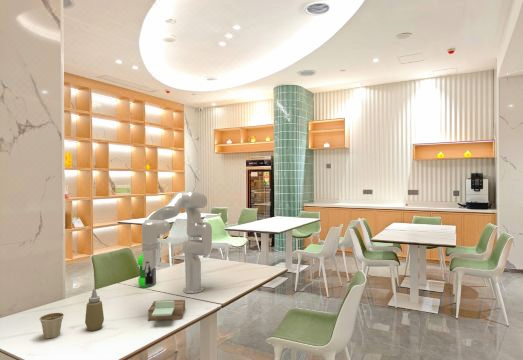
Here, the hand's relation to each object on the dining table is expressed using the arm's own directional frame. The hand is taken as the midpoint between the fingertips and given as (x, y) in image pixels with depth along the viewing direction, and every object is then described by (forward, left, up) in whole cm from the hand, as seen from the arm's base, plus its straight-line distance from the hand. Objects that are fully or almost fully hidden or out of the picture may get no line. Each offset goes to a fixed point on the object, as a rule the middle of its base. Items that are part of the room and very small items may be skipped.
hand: (150, 281), depth 179 cm
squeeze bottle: (+13, -23, -17) cm, 31 cm away
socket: (0, +8, -17) cm, 19 cm away
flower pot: (+19, -39, -17) cm, 47 cm away
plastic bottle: (-53, -15, -17) cm, 57 cm away
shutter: (+11, +8, -12) cm, 18 cm away
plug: (0, 0, -1) cm, 1 cm away
